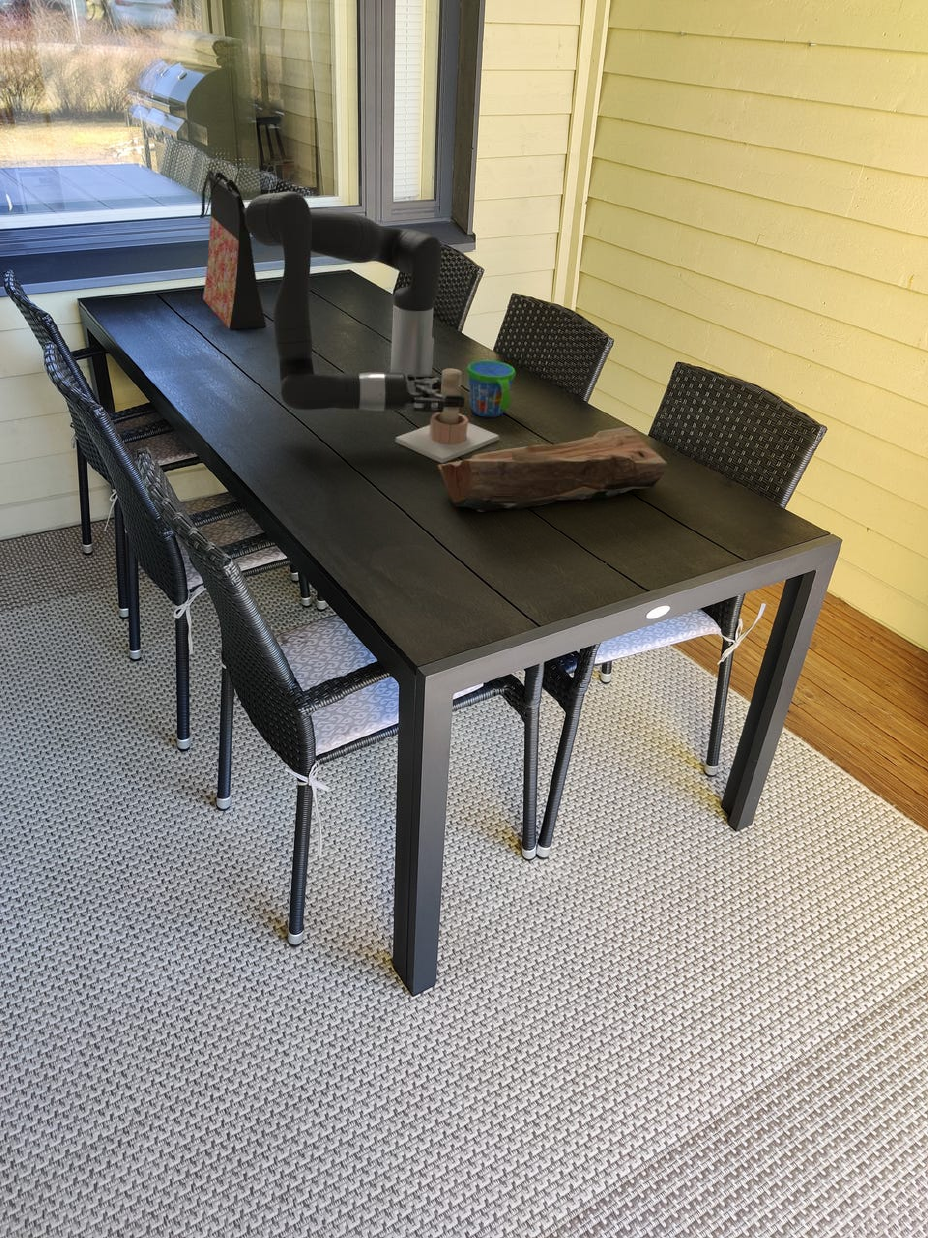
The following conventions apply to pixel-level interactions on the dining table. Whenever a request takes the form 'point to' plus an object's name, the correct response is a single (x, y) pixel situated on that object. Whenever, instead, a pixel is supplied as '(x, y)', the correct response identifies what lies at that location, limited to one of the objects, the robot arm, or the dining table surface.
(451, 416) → the ash dowel
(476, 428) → the stand board
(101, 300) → the dining table surface
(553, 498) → the log
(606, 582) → the dining table surface
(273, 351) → the dining table surface
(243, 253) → the gift bag
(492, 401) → the snack cup
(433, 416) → the ring
